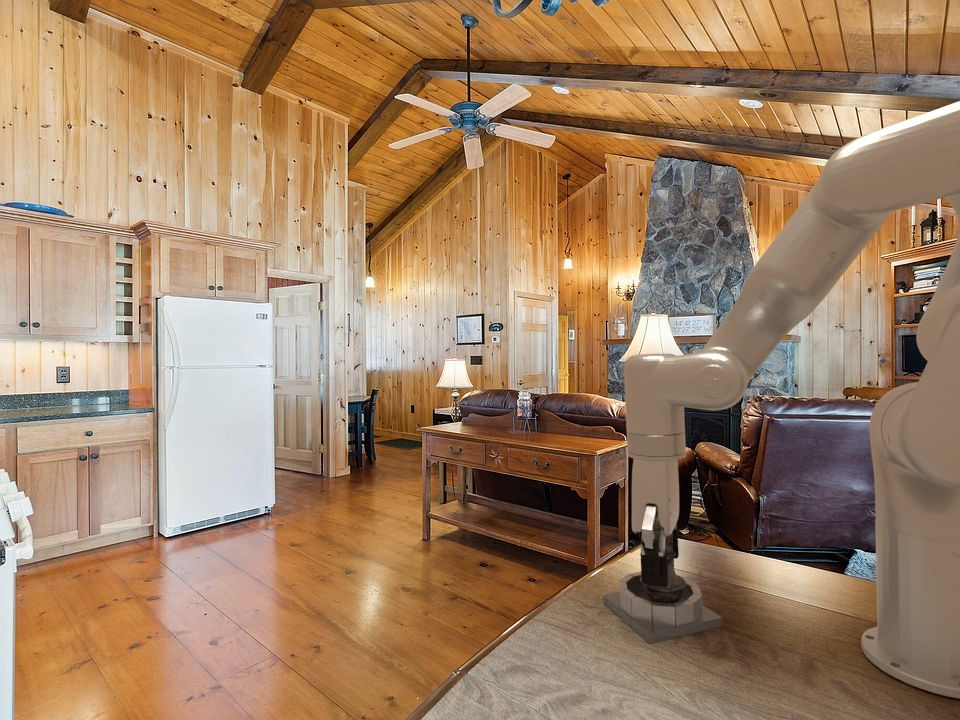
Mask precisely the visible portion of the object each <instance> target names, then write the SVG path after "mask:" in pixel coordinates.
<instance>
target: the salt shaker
mask: <svg viewBox="0 0 960 720" xmlns="http://www.w3.org/2000/svg"><path fill="white" fill-rule="evenodd" d="M654 530H661V531H662V529H656V528H655V529H654ZM654 539H657V541H658V542H659V541H660V538H656V537H654ZM664 555H667V565H668V586H667V587H659V586H652V585H646V584H643V583H642V584H643V588H644V590H645V592H646V594H647V595H648V596H649V598H647V599H646V600H649V601H652V602H662V603H675V602H679V601H677V600H678V599H680V598H681V596H682V593H683V591H684V588H685V586H686V582H685V580H684V579H683V578H682V577H683V576H682V577H680V576H681V575H678V574H676V570H675V559H674V557H675V556H676V553H675V552H674V551H673V533H671V535H669V536H668V537H666V539H665V553H664ZM640 581H641V582H642V579H641V577H640Z"/></svg>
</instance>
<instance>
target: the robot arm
mask: <svg viewBox="0 0 960 720" xmlns="http://www.w3.org/2000/svg"><path fill="white" fill-rule="evenodd" d="M940 199H944V200H945V201H946V202H947V204H949V205H950V206H951V207H952V209H953V210H954V211H953V212H955V215H956V217H957V219H958V220H957V221H958V232H957V237H956V240H955V244H954V246H953V248H952V249H953V250H952V253H951V255H950V257H949V260H948V263H947V265H946V267H945V269H944V271H943V274H941V275H942V276H941V278H940V279H939V282H938V284H937V287H936V289H935V291H934V292H933V295H932V297H931V299H930V301H929V303H928V305H927V307H926V309H925V310H924V313H923V315H922V317H921V319H920V320H919V323H918V327H917V329H916V338H915V339H916V346H917V348H918V350H919V352H920V355H922V357H923V358H924V359H925V361H927V363H926V365H925V368H924V369H923V371H922V373H921V376H920V377H919V380H918V381H917V382H916V381H915V382H909V383H905V384H902V385H899V386H896V387H894V388H892V389H890V390H889V391H888V392H886V393H884V394H883V395H882V397H880V399H879V400H877V402H876V404H875V405H874V407H873V409H872V412H871V415H870V418H869V419H870V420H869V441H870V452H871V461H872V468H873V478H874V479H873V480H874V497H875V498H874V499H875V500H874V501H875V503H874V504H875V524H874V525H875V565H876V566H875V569H876V570H875V572H876V578H875V579H876V617H877V618H876V621H877V623H876V624H877V625H876V626H874V627H872V628H868V629H867V630H865V631H864V632H863V633H862V635H861V637H860V638H861V639H860V643H861V650H862V652H863V653H864V656H865V657H866V658H867V659H868V660H869V661H870V662H871V663H872V664H873V665H875V666H876V667H877V668H879V669H880V670H881V671H883V672H885V673H886V674H888V675H890V676H891V677H893V678H895V679H897V680H899V681H901V682H903V683H905V684H908V685H910V686H912V687H916V688H918V689H921V690H924V691H926V692H930V693H933V694H936V695H939V696H943V697H949V698H953V699H958V700H959V699H960V100H959V101H955V102H953V103H951V104H948V105H945V106H941V107H940V108H937V109H933V110H931V111H928V112H925V113H922V114H919V115H915V116H913V117H911V118H908V119H905V120H902V121H900V122H897V123H894V124H890V125H888V126H886V127H882V128H879V129H877V130H875V131H872V132H869V133H867V134H864V135H861V136H859V137H857V138H855V139H852V140H851V141H850V142H848V143H846V144H844V145H843V146H841V147H840V148H838V149H837V150H836V151H835V152H834V153H833V154H832V155H831V156H830V157H829V159H828V160H827V161H826V163H825V164H824V167H823V168H822V170H821V172H820V175H819V176H818V178H817V181H815V182H814V184H813V186H812V187H811V188H810V190H809V191H808V193H807V194H806V195H805V197H804V198H803V200H802V201H801V202H800V204H799V205H798V207H797V208H796V210H795V211H794V212H793V213H792V215H791V216H790V218H789V219H788V220H787V221H786V223H785V225H784V226H783V227H782V228H781V230H780V232H779V233H778V234H777V235H776V237H775V238H774V240H773V241H772V242H771V243H770V244H769V246H768V248H767V249H766V250H765V251H764V253H762V255H761V257H760V258H759V259H758V261H756V263H755V265H754V266H753V268H752V270H751V271H750V273H749V274H748V276H747V278H746V280H745V282H744V284H743V286H742V289H741V292H740V294H739V295H738V298H737V299H736V301H735V303H733V304H734V305H732V307H731V309H730V310H729V312H728V313H727V314H726V316H725V318H724V319H723V320H722V322H721V323H720V325H719V326H718V327H717V329H716V330H715V331H714V333H713V335H712V336H710V338H709V339H708V341H707V342H706V344H705V345H704V346H703V347H702V348H701V350H700V351H699V352H696V353H695V352H694V353H687V354H679V355H676V354H673V353H644V354H643V353H641V354H635V355H633V354H632V355H630V356H629V357H627V358H626V360H625V362H624V364H623V365H624V366H623V369H624V370H623V374H624V375H623V378H624V400H625V421H626V422H625V423H626V424H625V427H626V443H627V445H626V447H627V448H626V449H627V457H628V458H631V459H632V460H633V461H632V462H633V463H632V472H631V530H632V532H633V533H634V534H639V533H641V539H640V555H639V556H640V572H641V579H642V583H643V584H646V585H652V586H659V587H667V586H668V565H667V555H664V553H665V539H666V537H668V536H669V535H671V533H673V551H674V552H675V553H676V556H675V557H674V560H677V559H678V558H679V555H680V554H679V552H680V551H679V534H678V529H677V527H678V526H677V523H678V520H679V516H680V483H679V481H680V479H679V463H678V461H679V460H682V459H685V458H686V457H687V451H686V448H687V447H686V425H685V424H686V423H685V421H686V420H685V408H690V409H697V410H705V411H721V410H727V409H730V408H731V407H733V406H735V405H736V404H737V403H739V402H740V401H741V399H742V398H744V396H745V393H746V392H747V387H748V383H749V382H750V381H751V379H752V378H753V377H754V375H755V374H756V373H757V371H758V370H759V369H760V367H762V365H763V364H764V362H765V361H766V360H767V359H768V357H769V356H770V355H771V354H772V352H773V351H775V349H776V348H777V346H778V345H779V344H780V343H781V342H782V341H783V339H785V337H786V336H788V334H789V333H790V332H791V331H792V330H793V329H794V328H795V327H797V325H799V324H800V323H801V322H803V321H804V320H805V319H807V317H808V316H810V315H811V314H812V313H813V312H814V311H815V310H816V308H817V307H818V306H819V305H820V304H821V303H822V302H823V301H824V300H825V298H826V297H827V295H829V294H830V292H831V290H832V289H833V288H834V286H835V285H836V284H837V283H838V282H839V280H840V279H841V278H842V276H843V275H844V274H845V272H846V271H847V270H848V269H849V267H850V266H851V265H852V264H853V263H854V262H855V260H856V259H857V258H858V256H859V255H860V254H861V252H862V251H863V250H864V249H865V248H866V246H867V245H868V244H869V243H870V241H871V240H872V239H873V238H874V237H875V235H876V234H877V232H878V231H879V230H880V228H881V227H882V226H883V225H884V224H885V222H886V221H887V220H888V219H889V218H890V217H891V215H892V214H893V212H895V211H898V210H902V209H907V208H910V207H914V206H918V205H921V204H925V203H929V202H933V201H938V200H940ZM655 528H656V529H662V531H661V530H654V529H655ZM654 537H656V538H660V541H659V542H658V541H657V539H654Z"/></svg>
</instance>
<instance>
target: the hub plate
mask: <svg viewBox="0 0 960 720" xmlns="http://www.w3.org/2000/svg"><path fill="white" fill-rule="evenodd" d="M679 576H680V577H682V578H683V579H684V580H685V582H686V586H685V588H684V591H683V593H682V596H681V598H680V599H678V600H677V601H679V602H675V603H662V602H652V601H649V600H646V599H647V598H649V596H648V595H647V594H646V592H645V590H644V588H643V584H642V582H641V581H640V577H641V571H636V572H632V573H627V574H626V575H624V576H623V577H622V578H620V579H619V580H618V591H616V592H611V593H606V594H602V604H604V605H605V607H607V609H609V610H610V611H612V612H613V614H615V615H616V616H617V617H618V618H620V620H622V621H623V622H624V623H625V624H626V625H627V626H628V627H630V628H631V629H632V630H633V631H634V632H635V633H637V634H638V636H640V638H642V639H643V640H644V641H646V643H648V644H654V643H657V642H661V641H666V640H670V639H675V638H679V637H684V636H688V635H692V634H697V633H701V632H706V631H711V630H715V629H719V628H722V627H723V618H722V616H720V615H719V614H717V613H716V612H714V611H713V610H711V609H709V608H708V607H706V606H705V605H703V594H702V592H701V589H700V586H699V585H698V584H696V583H695V582H694V581H691V580H690V579H688V578H687V577H685V576H681V575H679Z"/></svg>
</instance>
